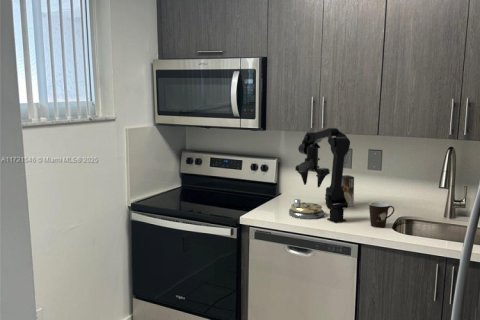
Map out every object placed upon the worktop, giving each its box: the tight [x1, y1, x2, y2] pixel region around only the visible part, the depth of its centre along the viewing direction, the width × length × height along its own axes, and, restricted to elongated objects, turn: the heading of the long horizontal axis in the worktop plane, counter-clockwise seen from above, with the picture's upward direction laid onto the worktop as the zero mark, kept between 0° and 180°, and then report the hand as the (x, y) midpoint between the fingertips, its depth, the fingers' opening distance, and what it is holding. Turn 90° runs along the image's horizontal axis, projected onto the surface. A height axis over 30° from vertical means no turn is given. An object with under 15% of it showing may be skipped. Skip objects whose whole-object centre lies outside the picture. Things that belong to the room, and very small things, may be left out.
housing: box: [288, 208, 325, 220], centre depth 217 cm, size 17×17×2 cm
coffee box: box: [333, 174, 355, 208], centre depth 234 cm, size 9×6×16 cm
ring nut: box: [290, 198, 323, 214], centre depth 217 cm, size 15×15×6 cm
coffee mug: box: [368, 201, 395, 229], centre depth 197 cm, size 12×9×10 cm
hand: (311, 186), depth 228 cm, fingers open, 9 cm apart
